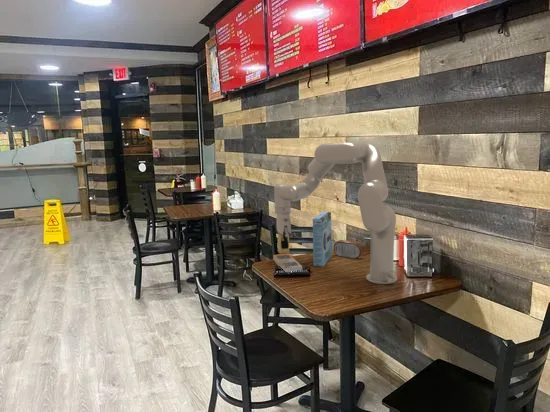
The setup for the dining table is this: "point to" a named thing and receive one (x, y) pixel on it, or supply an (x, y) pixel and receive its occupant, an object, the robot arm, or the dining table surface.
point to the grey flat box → (287, 262)
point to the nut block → (281, 244)
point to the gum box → (322, 239)
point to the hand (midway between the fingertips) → (283, 246)
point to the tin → (348, 249)
